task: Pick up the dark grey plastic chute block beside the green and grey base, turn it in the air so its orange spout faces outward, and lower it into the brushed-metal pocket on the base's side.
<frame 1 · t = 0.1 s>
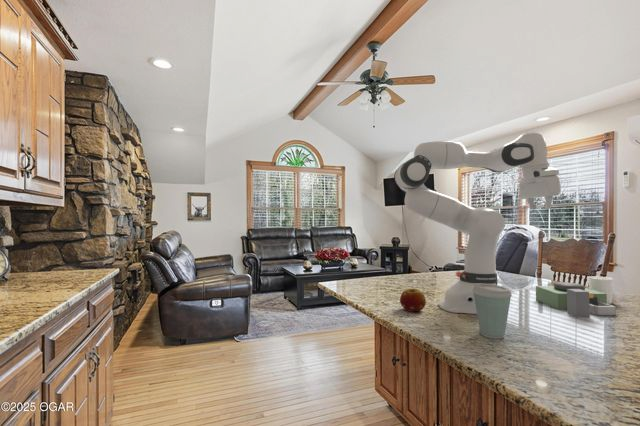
hand: (540, 209, 126), 39 cm above the countertop, tool pointing down, fingers open, 8 cm apart
disposable coffee cup: (492, 336, 97), on the countertop
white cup: (601, 302, 135), on the countertop
green and grey base: (569, 304, 131), on the countertop
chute: (578, 315, 117), on the countertop
fruit: (412, 310, 124), on the countertop
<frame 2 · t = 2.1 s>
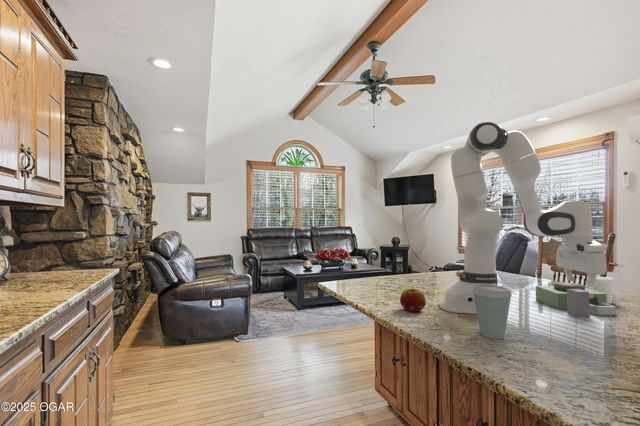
hand: (579, 283, 117), 12 cm above the countertop, tool pointing down, fingers open, 8 cm apart
nothing on the countertop moved.
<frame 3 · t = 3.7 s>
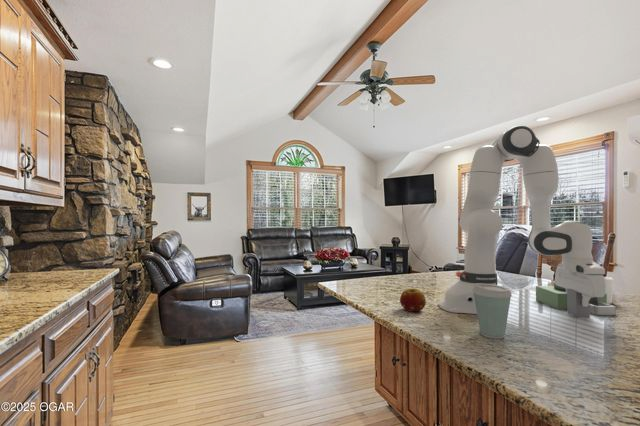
hand: (578, 303, 117), 4 cm above the countertop, tool pointing down, fingers closed on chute, 4 cm apart
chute: (578, 315, 117), on the countertop, touching gripper
everything else where it was.
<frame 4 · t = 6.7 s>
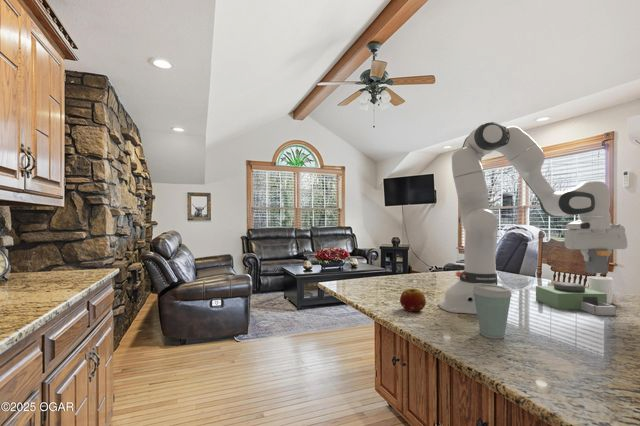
hand: (596, 261, 121), 19 cm above the countertop, tool pointing down, fingers closed on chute, 4 cm apart
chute: (596, 272, 121), point 15 cm above the countertop, touching gripper
everything else where it was.
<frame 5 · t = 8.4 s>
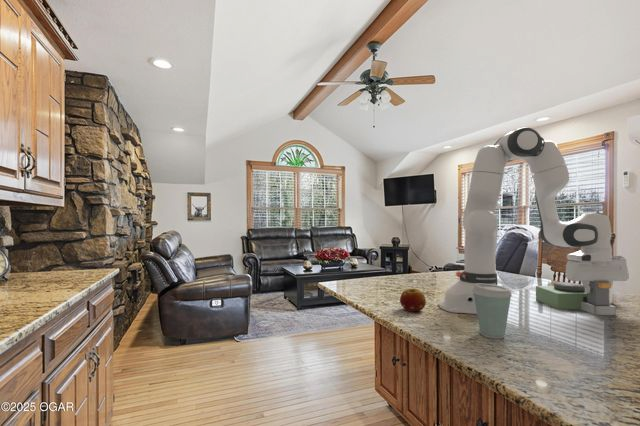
hand: (597, 292, 121), 7 cm above the countertop, tool pointing down, fingers closed on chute, 4 cm apart
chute: (598, 303, 121), point 3 cm above the countertop, touching gripper
everything else where it was.
when the fingers open (5 cm above the countertop, at t = 9.6 s): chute drops 1 cm, resting in green and grey base.
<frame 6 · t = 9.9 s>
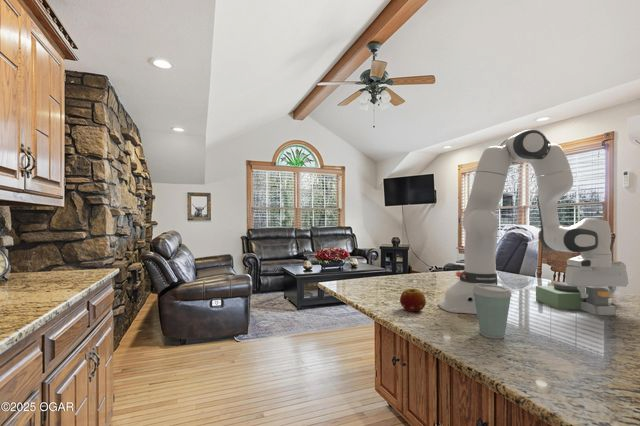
hand: (596, 298, 121), 5 cm above the countertop, tool pointing down, fingers open, 7 cm apart
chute: (597, 312, 121), resting in green and grey base
everything else where it was.
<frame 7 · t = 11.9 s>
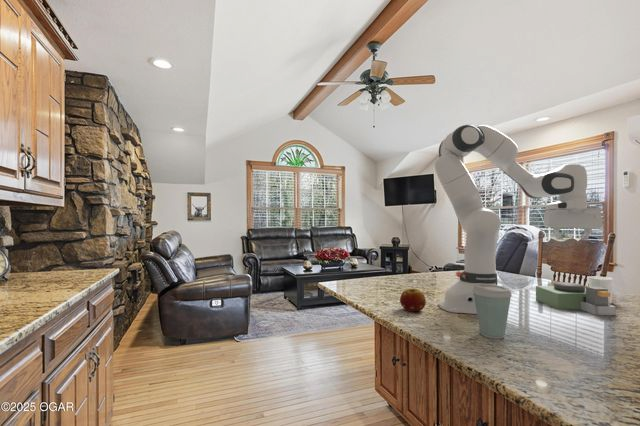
hand: (572, 239, 128), 27 cm above the countertop, tool pointing down, fingers open, 8 cm apart
nothing on the countertop moved.
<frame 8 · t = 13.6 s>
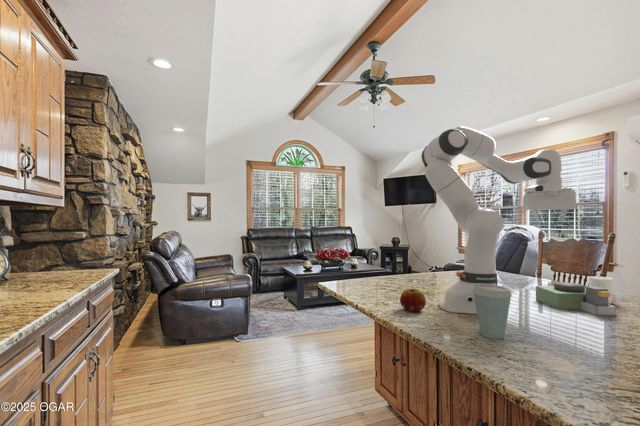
hand: (549, 220, 137), 34 cm above the countertop, tool pointing down, fingers open, 8 cm apart
nothing on the countertop moved.
at the end: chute 0.2 cm from the target spot, resting in green and grey base; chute tilted 0°; the gripper is holding nothing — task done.
